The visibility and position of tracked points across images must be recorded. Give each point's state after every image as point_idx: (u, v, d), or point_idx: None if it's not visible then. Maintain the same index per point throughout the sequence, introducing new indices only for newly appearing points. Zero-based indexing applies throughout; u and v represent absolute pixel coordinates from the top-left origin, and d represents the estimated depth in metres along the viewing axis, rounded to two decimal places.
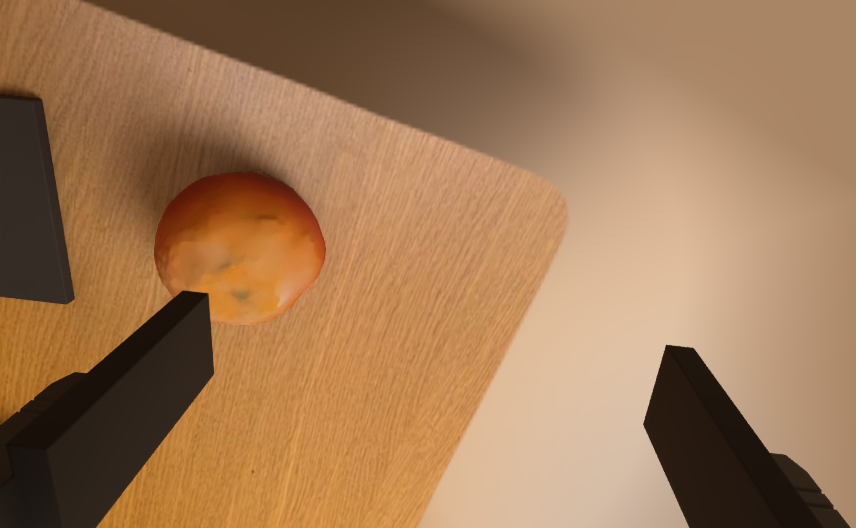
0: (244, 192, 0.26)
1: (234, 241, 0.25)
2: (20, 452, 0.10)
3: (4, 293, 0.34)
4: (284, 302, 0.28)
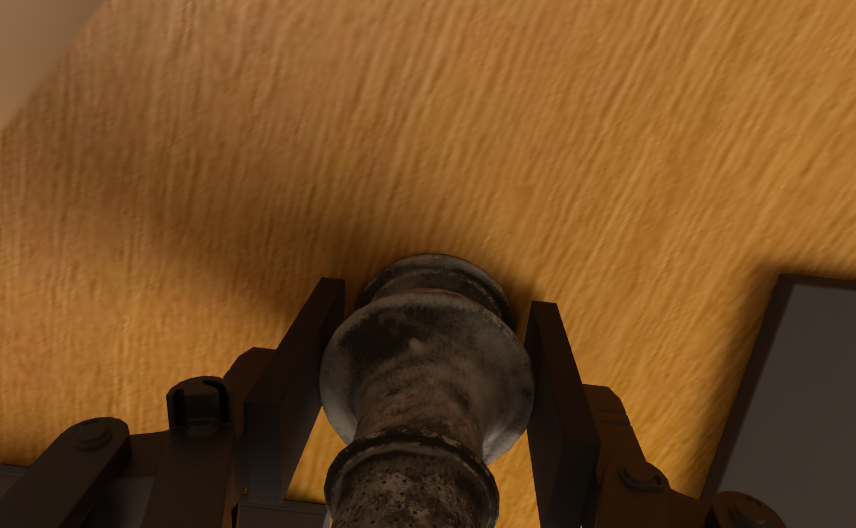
0: None
1: None
2: (255, 409, 0.12)
3: None
4: None
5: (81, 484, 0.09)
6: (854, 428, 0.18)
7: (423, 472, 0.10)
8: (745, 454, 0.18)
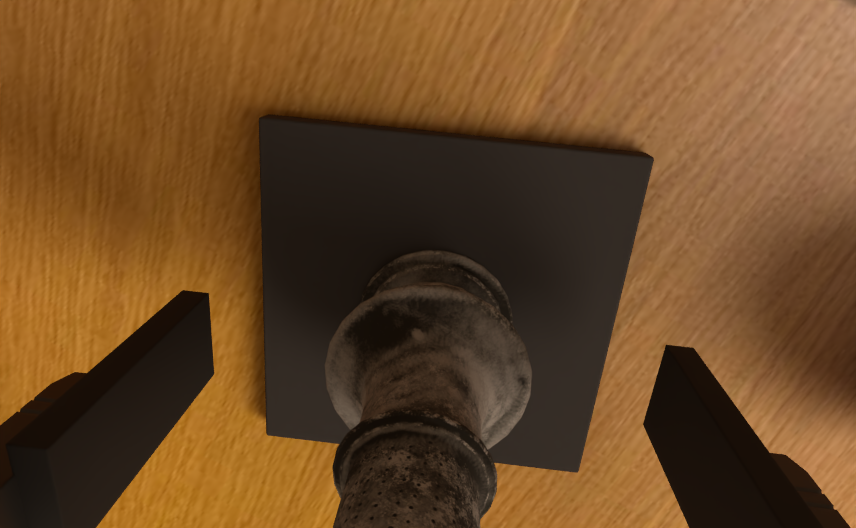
0: None
1: None
2: (20, 452, 0.10)
3: None
4: None
5: None
6: (363, 269, 0.19)
7: (425, 450, 0.11)
8: (276, 300, 0.19)
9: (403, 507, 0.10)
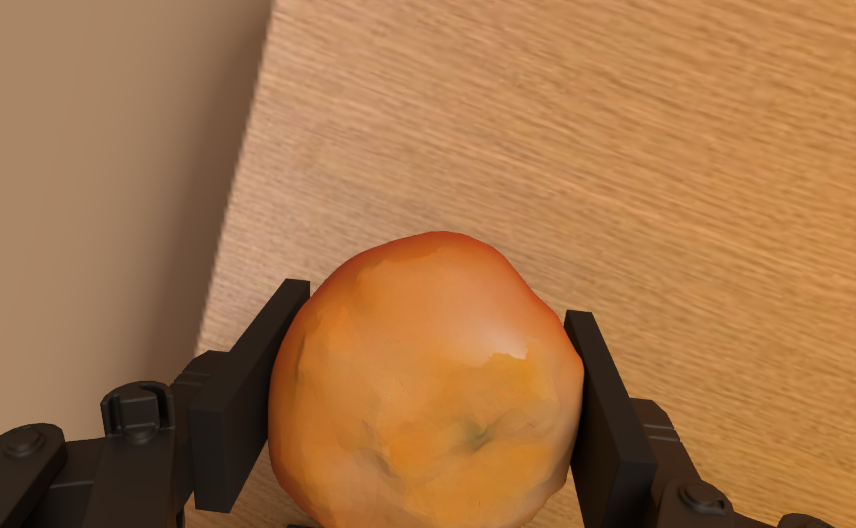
0: (272, 383, 0.13)
1: (333, 435, 0.11)
2: (198, 414, 0.11)
3: None
4: (520, 341, 0.12)
5: (15, 491, 0.09)
6: None
7: None
8: None
9: None
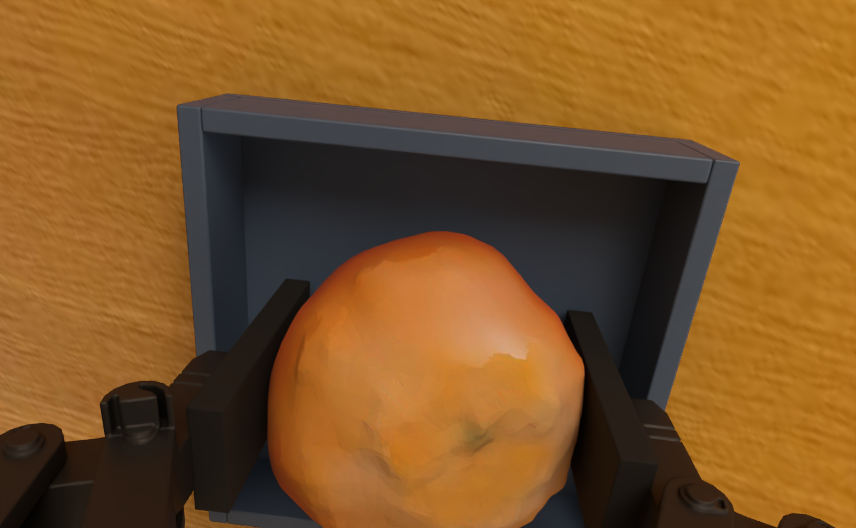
0: (271, 383, 0.13)
1: (333, 436, 0.11)
2: (198, 414, 0.11)
3: None
4: (521, 341, 0.12)
5: (14, 491, 0.09)
6: None
7: None
8: None
9: None
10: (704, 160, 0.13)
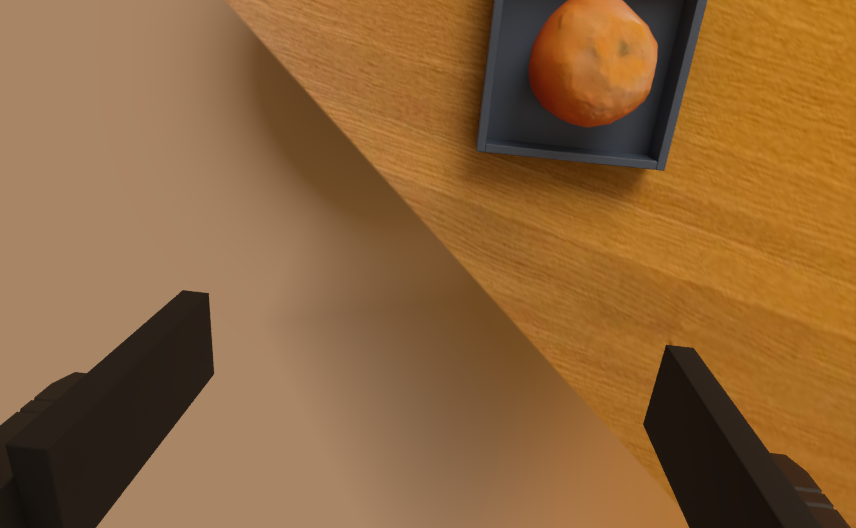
0: (540, 43, 0.34)
1: (575, 44, 0.33)
2: (20, 452, 0.10)
3: None
4: (638, 20, 0.33)
5: None
6: None
7: None
8: None
9: None
10: None
